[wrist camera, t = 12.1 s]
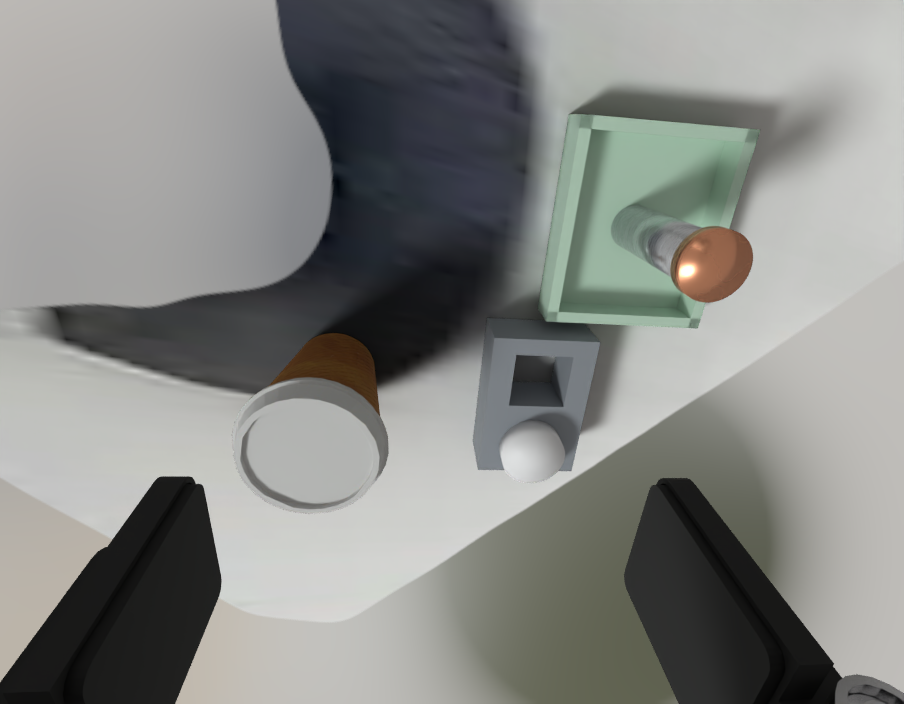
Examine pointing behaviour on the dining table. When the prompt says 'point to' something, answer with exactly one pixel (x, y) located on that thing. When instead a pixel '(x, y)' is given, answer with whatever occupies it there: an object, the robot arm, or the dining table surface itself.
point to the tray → (634, 183)
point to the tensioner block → (532, 398)
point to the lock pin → (686, 251)
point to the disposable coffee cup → (314, 430)
